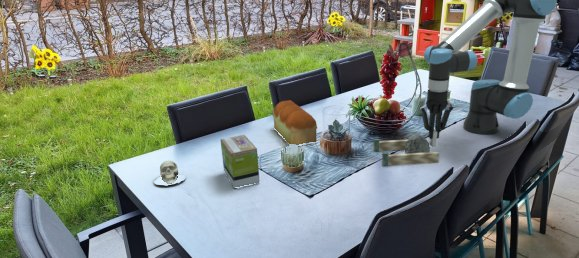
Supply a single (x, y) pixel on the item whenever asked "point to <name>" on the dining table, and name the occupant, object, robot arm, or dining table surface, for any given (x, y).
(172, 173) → the skull
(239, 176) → the tea box
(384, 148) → the chevron patterned bars
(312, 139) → the bread
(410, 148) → the stone
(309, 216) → the dining table surface
